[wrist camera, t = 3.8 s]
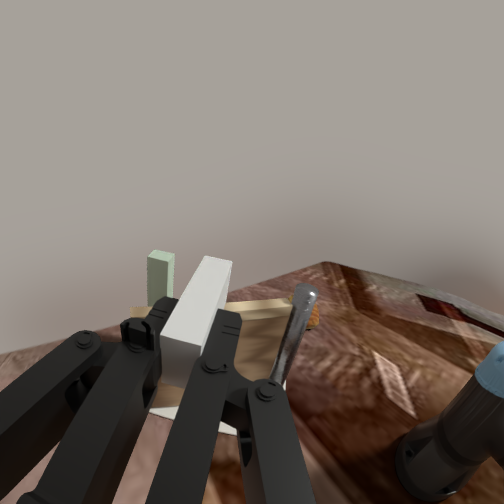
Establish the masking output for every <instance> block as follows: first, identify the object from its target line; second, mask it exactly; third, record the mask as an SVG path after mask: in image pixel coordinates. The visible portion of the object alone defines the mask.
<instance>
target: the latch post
mask: <svg viewBox="0 0 504 504" xmlns="http://www.w3.org/2000/svg"><path fill="white" fill-rule="evenodd" d="M174 259H175V254H173V253H168V252H164V251H159V250H154V251H153V252H152V253H151V254H150V255H149V256H148V257H147V294H148V307H152V306H153V305H154V304H155V302H156V301H157V300H159V299H161V298H162V297H164V296H167V297H171V298H172V297H173V277H174V275H173V274H174Z"/></svg>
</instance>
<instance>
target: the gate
mask: <svg viewBox="0 0 504 504" xmlns="http://www.w3.org/2000/svg"><path fill="white" fill-rule="evenodd" d="M152 307H153V306H152ZM152 307H130V313H131V314H130V315H131V318H136V317H137V318H144V319H145V317H146V316H147V315H148V313H149V311H150V310H151V309H152ZM292 307H293V305H292V304H291V303H290V302H289V300H288V299H287V298H282V299H270V300H258V301H245V302H231V303H226V304H225V307H224V310H228V311H232V312H237V313H240V316H241V318H242V326H241V331H240V335H239V340H238V345H237V349H236V354H235V358H234V366H235V368H236V370H237V372H238V373H239V374H241V375H242V376H243V377H245V378H247V379H249V380H251V381H255V380H257V379H269V376H270V373H271V371H272V368H273V365H274V362H275V359H276V356H277V353H278V350H279V347H280V344H281V341H282V338H283V335H284V332H285V329H286V326H287V323H288V320H289V316H290V313H291V310H292ZM184 391H185V389H183V388H179V387H176V386H172V385H169V384H166V383H162V380H161V377H160V379H159V381H158V391H157V394H156V396H155V399H154V401H153V403H152V406H151V408H154V407H167V406H177V405H180V402H181V399H182V396H183V394H184Z"/></svg>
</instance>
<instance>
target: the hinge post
mask: <svg viewBox="0 0 504 504" xmlns="http://www.w3.org/2000/svg"><path fill="white" fill-rule="evenodd" d="M318 293H319V291H318V289H317V288H316V287H314V286H312V285H310V284H306V283H300V284H297V285H296V288H295V292H294V295H293V298H292V302H291V304H292V305H293V307H292V310H291V313H290V316H289V320H288V323H287V326H286V329H285V332H284V335H283V338H282V341H281V344H280V347H279V350H278V353H277V356H276V359H275V362H274V365H273V368H272V371H271V373H270V376H269V379H271V380H273V381H276V382H278V383H279V384H280V385H281V386H282V387H283V385H284V383H285V380H286V378H287V375H288V373H289V371H290V368H291V366H292V363H293V361H294V358H295V356H296V353H297V350H298V348H299V345H300V343H301V340H302V337H303V335H304V332H305V329H306V327H307V324H308V321H309V319H310V316H311V313H312V310H313V307H314V305H315V302H316V299H317V296H318Z"/></svg>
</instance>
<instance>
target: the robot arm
mask: <svg viewBox="0 0 504 504" xmlns="http://www.w3.org/2000/svg"><path fill="white" fill-rule="evenodd" d="M231 268H232V261H228V260H223V259H219V258H214V257H209V256H204V258H203V260H202V262H201V263H200V265H199V267H198V268H197V270H196V272H195V274H194V275H193V277H192V279H191V280H190V282H189V284H188V286H187V288H186V289H185V291H184V293H183V294H182V296H181V298H180V300H178V299H174V298H171V297H167V296H164V297H162V298H161V299H159V300H157V301H156V302H155V304H154V305H153V307H152V309H151V310H150V311H149V313H148V315H147V316H146V317H145V319H144V318H137V317H136V318H129V319H127V320H124V321H123V322H122V323H121V324H120V328H121V336H122V342H118V343H113V342H101V339H100V337H99V336H98V335H97V334H96V333H95V332H92V331H87V330H84V331H79V332H77V333H75V334H73V335H72V336H71V337H69V338H68V339H67V340H65V341H64V342H63V343H61V344H60V345H59V346H57V347H56V348H55V349H53V350H52V351H51V352H50V353H48V354H47V355H46V356H44V357H43V358H42V359H41V360H39V361H38V362H37V363H36V364H34V365H33V366H32V367H30V368H29V369H28V370H27V371H25V372H24V373H23V374H22V375H20V376H19V377H18V378H17V379H16V380H14V381H13V382H12V383H11V384H9V385H8V386H7V387H6V388H4V389H3V390H2V391H1V392H0V501H1V500H2V499H3V498H4V497H5V496H6V495H7V494H8V493H9V492H10V491H11V490H12V489H13V488H14V487H15V486H16V485H17V484H18V483H19V482H20V481H21V480H22V479H23V478H24V477H25V476H26V475H27V474H28V473H29V472H30V471H31V470H32V469H33V468H34V467H35V466H36V465H37V464H38V463H39V462H40V461H41V460H42V459H43V458H44V457H45V456H46V455H47V454H48V453H49V452H50V451H51V449H52V448H53V447H54V446H55V445H56V444H57V443H58V442H59V441H60V440H61V441H60V443H59V445H58V447H57V448H56V450H55V452H54V454H53V456H52V458H51V459H50V461H49V463H48V465H47V467H46V469H45V471H44V473H43V475H42V477H41V479H40V481H39V483H38V485H37V486H36V488H35V489H34V490H33V491H31V492H27V493H24V494H23V495H22V496H21V497H20V498H19V499H18V501H17V503H16V504H112V502H113V499H114V497H115V494H116V491H117V489H118V486H119V484H120V481H121V479H122V476H123V474H124V471H125V469H126V466H127V464H128V461H129V459H130V456H131V454H132V451H133V449H134V446H135V444H136V442H137V439H138V437H139V434H140V432H141V429H142V427H143V425H144V422H145V420H146V418H147V415H148V413H149V411H150V408H151V406H152V403H153V401H154V399H155V396H156V394H157V391H158V381H159V379H160V377H161V380H162V383H166V384H169V385H172V386H176V387H179V388H183V389H185V391H184V394H183V396H182V399H181V402H180V405H179V407H178V410H177V413H176V416H175V419H174V421H173V424H172V427H171V430H170V433H169V436H168V438H167V441H166V444H165V447H164V450H163V453H162V456H161V458H160V461H159V464H158V467H157V470H156V473H155V476H154V479H153V482H152V485H151V487H150V490H149V493H148V496H147V499H146V502H145V504H202V500H203V496H204V491H205V487H206V483H207V478H208V474H209V470H210V465H211V461H212V457H213V452H214V448H215V444H216V439H217V435H218V430H219V426H220V422H223V423H225V424H227V425H229V426H231V427H233V428H235V429H236V432H237V440H238V448H239V455H240V463H241V470H242V477H243V484H244V491H245V498H246V504H316V501H315V497H314V493H313V490H312V486H311V483H310V479H309V475H308V472H307V468H306V464H305V461H304V457H303V454H302V450H301V446H300V443H299V439H298V435H297V432H296V428H295V424H294V421H293V417H292V413H291V410H290V406H289V402H288V399H287V395H286V392H285V390H284V388H283V387H282V386H281V385H280V384H279V383H278V382H276V381H273V380H271V379H257V380H255V381H251V380H249V379H247V378H245V377H243V376H242V375H241V374H239V373H238V372H237V370H236V368H235V366H234V358H235V354H236V349H237V345H238V340H239V335H240V331H241V326H242V318H241V316H240V313H237V312H232V311H228V310H224V307H225V304H226V298H227V292H228V285H229V280H230V274H231ZM490 456H492V457H493V458H494V460H495V461H496V462H497V463H498V464H499V465H500V466H501V467H502V468H503V470H504V341H502V342H500V343H498V344H497V345H496V346H495V347H494V348H493V349H492V350H491V351H490V353H489V354H488V355H487V357H486V358H485V359H484V361H483V362H481V363H480V364H479V365H478V366H477V368H476V370H475V373H474V375H473V376H472V377H471V379H470V380H469V381H468V382H467V384H466V385H465V386H464V387H463V388H462V390H461V391H460V392H459V393H458V394H457V396H456V397H455V398H454V399H453V400H452V401H451V402H450V404H449V405H448V406H447V407H446V408H445V409H444V410H443V411H442V412H441V413H440V414H438V415H436V416H434V417H432V418H430V419H428V420H426V421H424V422H422V423H420V424H419V425H417V426H415V427H414V428H413V429H412V430H411V431H410V432H409V433H408V434H407V435H406V436H405V437H404V438H403V439H402V440H401V442H400V443H399V445H398V448H397V451H396V455H395V467H396V472H397V475H398V478H399V480H400V482H401V483H402V485H403V486H404V488H405V489H406V490H407V491H408V492H409V493H410V494H411V495H413V496H414V497H416V498H418V499H420V500H423V501H428V502H436V501H441V500H444V499H447V498H448V497H450V496H452V495H453V494H455V493H457V492H458V491H459V490H461V489H462V488H463V487H464V486H465V485H466V483H467V482H468V481H469V480H470V478H471V477H472V476H473V475H474V473H475V472H476V471H477V469H478V468H479V467H480V465H481V464H482V463H483V462H484V461H485V460H487V459H488V458H489V457H490Z"/></svg>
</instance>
